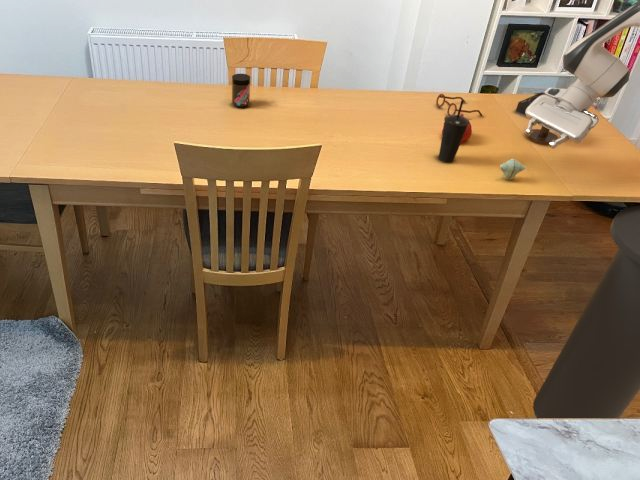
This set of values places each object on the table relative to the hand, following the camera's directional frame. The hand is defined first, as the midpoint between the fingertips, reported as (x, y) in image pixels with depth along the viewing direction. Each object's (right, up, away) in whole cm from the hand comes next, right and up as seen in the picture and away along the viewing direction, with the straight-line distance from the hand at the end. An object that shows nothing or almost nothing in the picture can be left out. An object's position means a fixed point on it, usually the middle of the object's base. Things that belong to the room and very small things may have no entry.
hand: (538, 140), depth 179 cm
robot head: (-8, -11, +4) cm, 14 cm away
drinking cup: (-24, -3, +13) cm, 28 cm away
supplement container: (-92, +23, +39) cm, 103 cm away
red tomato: (-18, +6, +24) cm, 31 cm away
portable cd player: (+23, +20, +42) cm, 52 cm away
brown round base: (+14, +7, +27) cm, 31 cm away
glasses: (-10, +22, +42) cm, 48 cm away
